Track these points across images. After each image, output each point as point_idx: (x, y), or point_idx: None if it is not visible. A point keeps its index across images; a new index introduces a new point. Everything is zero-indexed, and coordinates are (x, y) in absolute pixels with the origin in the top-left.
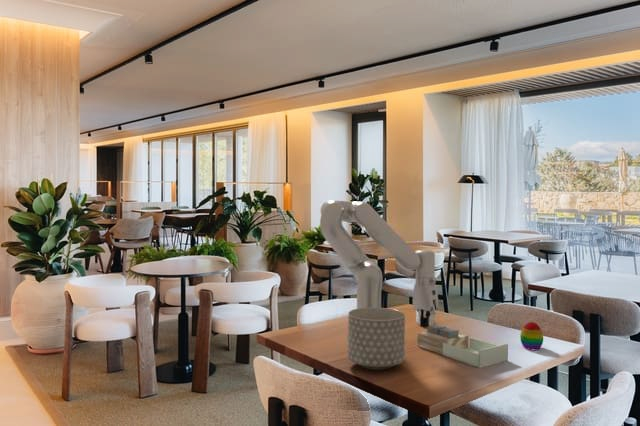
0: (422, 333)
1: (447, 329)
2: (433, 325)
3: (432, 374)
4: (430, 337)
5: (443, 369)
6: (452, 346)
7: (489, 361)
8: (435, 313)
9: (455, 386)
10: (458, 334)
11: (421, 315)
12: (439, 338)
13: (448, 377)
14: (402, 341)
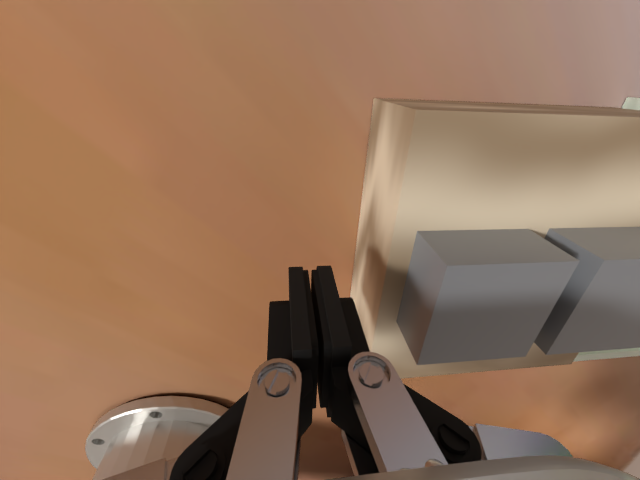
0: (392, 364)
1: (613, 315)
2: (449, 326)
3: (559, 425)
4: (478, 370)
5: (575, 390)
6: (628, 354)
7: None
8: (559, 442)
9: (637, 424)
10: (637, 171)
11: (300, 431)
12: (535, 349)
13: (606, 409)
14: None
